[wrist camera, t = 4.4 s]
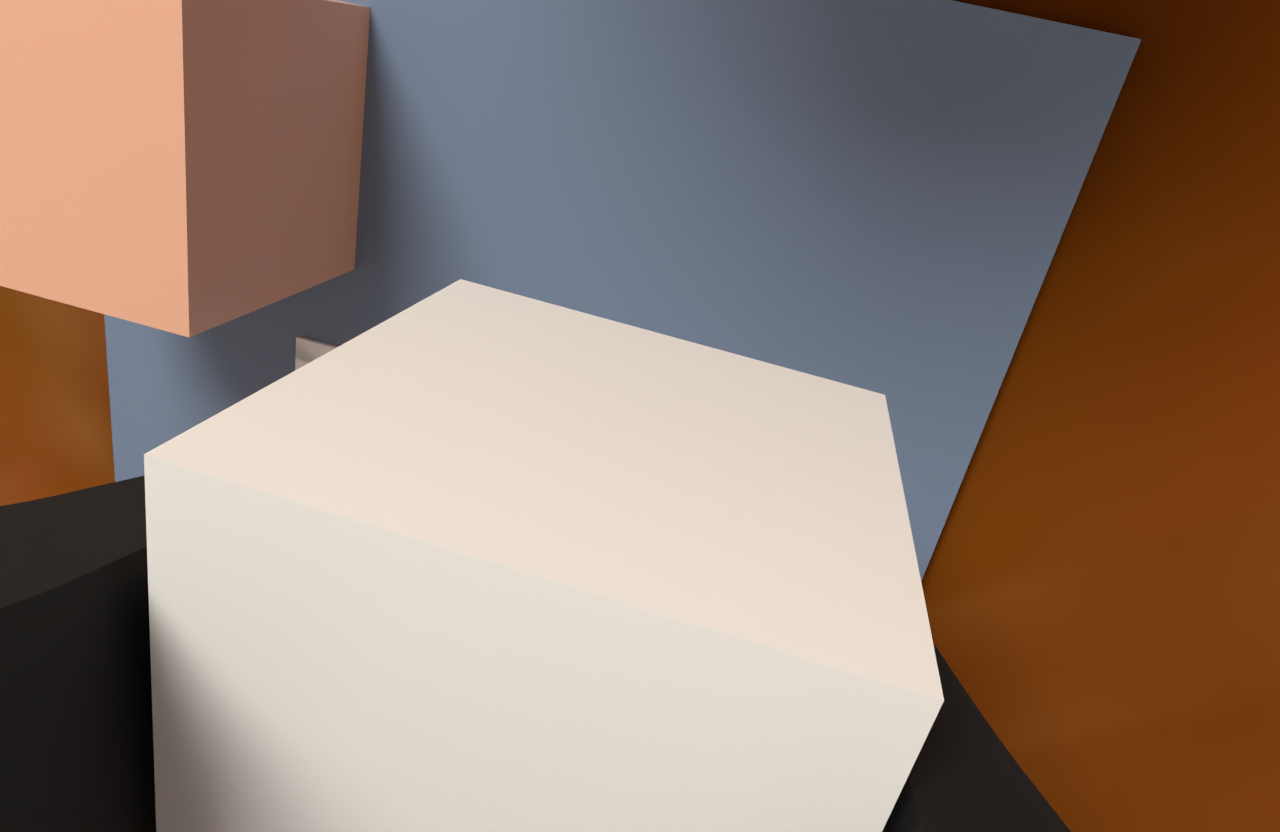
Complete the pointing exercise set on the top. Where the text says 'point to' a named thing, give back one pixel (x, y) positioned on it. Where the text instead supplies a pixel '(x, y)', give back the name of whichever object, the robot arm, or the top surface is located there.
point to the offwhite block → (534, 589)
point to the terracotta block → (179, 153)
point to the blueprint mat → (700, 198)
